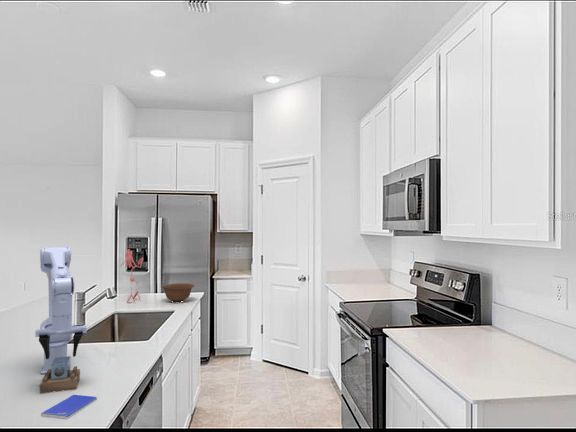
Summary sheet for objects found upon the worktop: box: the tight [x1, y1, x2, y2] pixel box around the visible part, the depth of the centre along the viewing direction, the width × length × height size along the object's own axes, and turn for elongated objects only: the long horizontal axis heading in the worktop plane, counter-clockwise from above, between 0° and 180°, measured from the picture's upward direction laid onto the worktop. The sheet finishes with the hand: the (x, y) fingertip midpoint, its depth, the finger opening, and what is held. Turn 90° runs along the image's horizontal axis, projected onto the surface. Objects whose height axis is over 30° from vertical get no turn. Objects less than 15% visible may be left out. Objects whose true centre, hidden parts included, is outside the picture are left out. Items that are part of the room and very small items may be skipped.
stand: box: [39, 365, 81, 394], centre depth 134 cm, size 10×10×4 cm
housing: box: [51, 355, 72, 381], centre depth 134 cm, size 7×4×5 cm, turn 20°
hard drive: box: [40, 394, 98, 420], centre depth 118 cm, size 2×8×12 cm
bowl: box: [160, 282, 195, 302], centre depth 276 cm, size 22×22×11 cm
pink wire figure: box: [120, 248, 145, 303], centre depth 276 cm, size 15×26×35 cm, turn 178°
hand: (61, 356), depth 134 cm, fingers open, 7 cm apart
